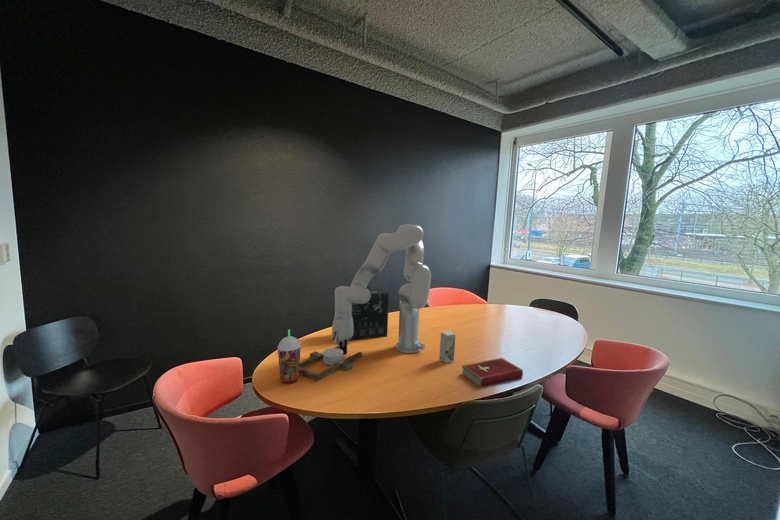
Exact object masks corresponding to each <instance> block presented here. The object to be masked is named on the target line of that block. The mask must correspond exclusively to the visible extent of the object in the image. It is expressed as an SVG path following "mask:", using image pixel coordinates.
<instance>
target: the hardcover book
mask: <svg viewBox="0 0 780 520" xmlns="http://www.w3.org/2000/svg"><path fill="white" fill-rule="evenodd" d="M461 367H462V375H464V376H465V377H466V378H468V379H469V380H470V381H472V382H473V383H475V385H477V386H478V387H479V388H485V387H488V386H489V387H490V386H492V385H497V384H503V383H506V382H510V381H515V380H520V379H523V376H524V370H523V369H522V368H520V367H519V366H518V365H516V364H513V363H512V362H510V361H508V360H506V359H504V357H501V358H495V359H490V360H484V361H478V362H474V363H467V364H463V365H461Z"/></svg>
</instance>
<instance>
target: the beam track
mask: <svg viewBox="0 0 780 520" xmlns="http://www.w3.org/2000/svg"><path fill="white" fill-rule="evenodd" d="M333 348H338V349H339V345H335V346H334V347H333ZM360 357H361V358H362V357H363V352H361V351H358V352H356V353H355V354H352V355H350V356H348V357H346V358H345V359H342V360H341V361H339V362H338V363H337V364H335V365H330V367H328V368H326V369H324V370H322V371H320V372H318V373H316V372H313V371H312V370H308V369H306V368H307V367H309V366H311V365H313V364H315V363H317V362H319V361H321V359H322V360H323V352H319V351H313V352H311V353H309V358H308V359H306V360H304V361H302V362H300V366H299V376H303V377H306V378H308V379H310V380H313V381H315V382H318V381H320V380H322V379H324V378H326V377H328V376H330V375H332V374H333V373H335V372H337V371H338V369H339V370H342V369H343V371H345V370H346V372H348V371H350V370H352V369H353V362H355V361H357V360H359V359H360ZM358 358H359V359H358ZM356 359H357V360H356ZM308 365H309V366H308ZM340 368H341V369H340ZM336 370H337V371H336ZM329 374H330V375H329Z"/></svg>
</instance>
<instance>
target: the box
mask: <svg viewBox="0 0 780 520" xmlns="http://www.w3.org/2000/svg"><path fill="white" fill-rule="evenodd" d="M439 343H440V344H439V358H438V360H439V361H440V362H442V363H444V364H448V363H449V364H450V363H453V362H454V361H455V347H456V346H455V345H456V333H454V332H452V331H450V330H449V331H441V332H440V342H439Z"/></svg>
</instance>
